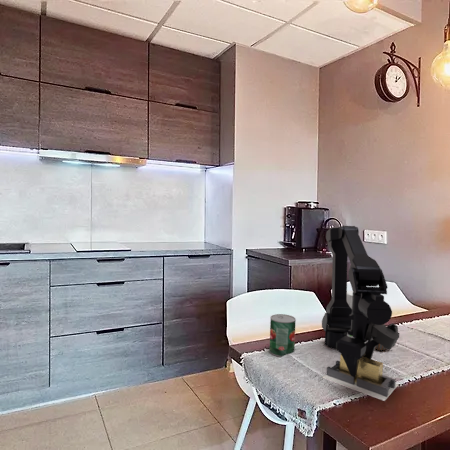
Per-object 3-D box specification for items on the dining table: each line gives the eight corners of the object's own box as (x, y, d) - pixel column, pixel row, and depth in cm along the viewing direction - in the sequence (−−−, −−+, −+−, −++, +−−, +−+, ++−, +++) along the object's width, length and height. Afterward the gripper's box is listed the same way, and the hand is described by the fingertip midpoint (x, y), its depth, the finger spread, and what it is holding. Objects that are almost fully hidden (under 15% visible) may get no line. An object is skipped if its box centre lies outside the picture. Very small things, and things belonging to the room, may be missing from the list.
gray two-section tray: (326, 375, 97) (326, 367, 97) (336, 367, 102) (337, 360, 102) (386, 396, 86) (387, 388, 86) (395, 387, 91) (395, 379, 91)
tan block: (339, 376, 96) (340, 354, 96) (344, 372, 98) (345, 351, 98) (377, 390, 90) (379, 366, 89) (381, 385, 92) (383, 362, 91)
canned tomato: (299, 356, 111) (300, 321, 110) (275, 358, 109) (277, 322, 108) (287, 346, 119) (288, 313, 118) (265, 348, 116) (266, 314, 116)
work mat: (321, 381, 95) (321, 377, 95) (339, 367, 104) (339, 364, 103) (384, 405, 85) (384, 400, 85) (398, 388, 93) (398, 384, 93)
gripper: (383, 328, 81) (379, 395, 82) (407, 311, 95) (404, 369, 96) (336, 316, 88) (333, 378, 89) (365, 302, 102) (362, 356, 103)
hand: (360, 370), depth 94 cm, fingers open, 9 cm apart
